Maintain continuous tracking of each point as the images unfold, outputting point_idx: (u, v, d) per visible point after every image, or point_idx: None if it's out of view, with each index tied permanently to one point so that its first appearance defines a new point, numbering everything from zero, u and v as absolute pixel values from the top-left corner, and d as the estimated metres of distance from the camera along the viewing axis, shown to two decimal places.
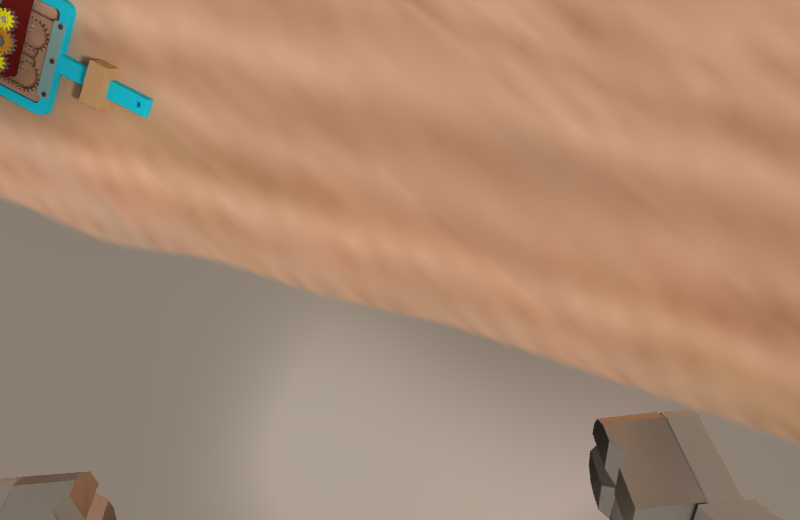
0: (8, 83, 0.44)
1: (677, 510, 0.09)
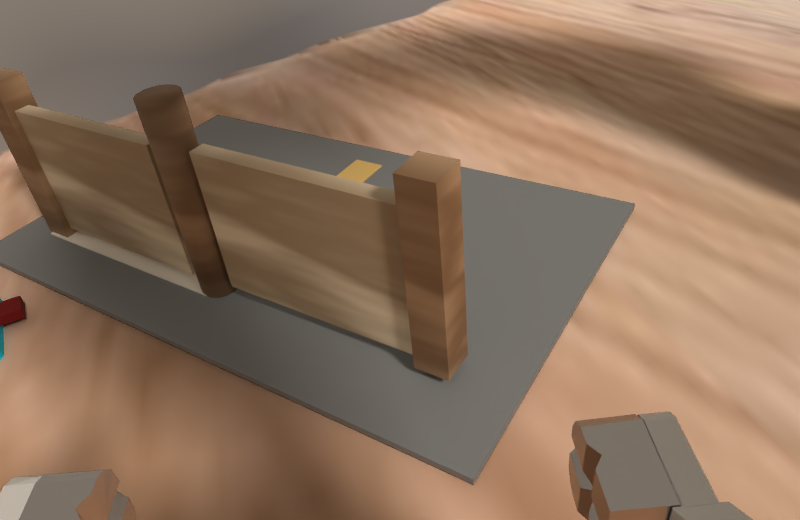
0: None
1: (652, 512, 0.09)
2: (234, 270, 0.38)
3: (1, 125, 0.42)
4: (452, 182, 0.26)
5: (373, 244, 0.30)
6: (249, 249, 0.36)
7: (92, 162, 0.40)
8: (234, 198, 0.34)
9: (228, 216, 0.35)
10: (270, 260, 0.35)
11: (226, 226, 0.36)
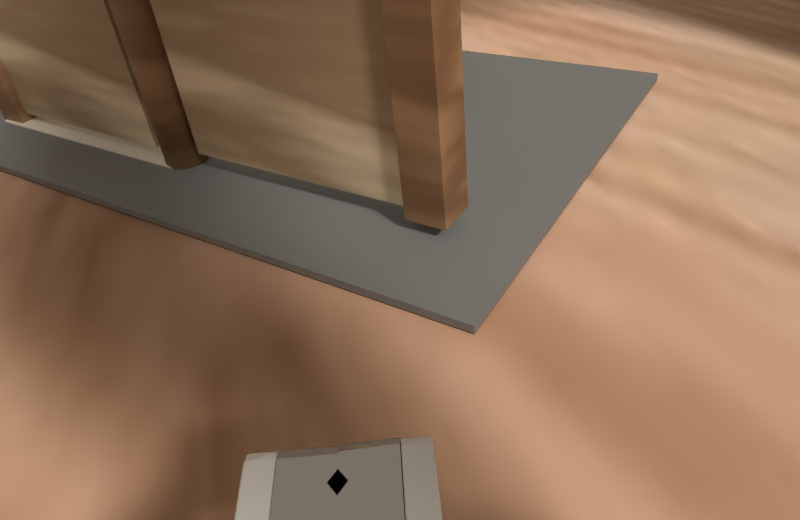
0: None
1: None
2: (200, 130, 0.33)
3: None
4: None
5: (354, 55, 0.25)
6: (214, 96, 0.31)
7: (40, 15, 0.35)
8: (194, 27, 0.29)
9: (189, 55, 0.30)
10: (238, 107, 0.30)
11: (187, 70, 0.31)
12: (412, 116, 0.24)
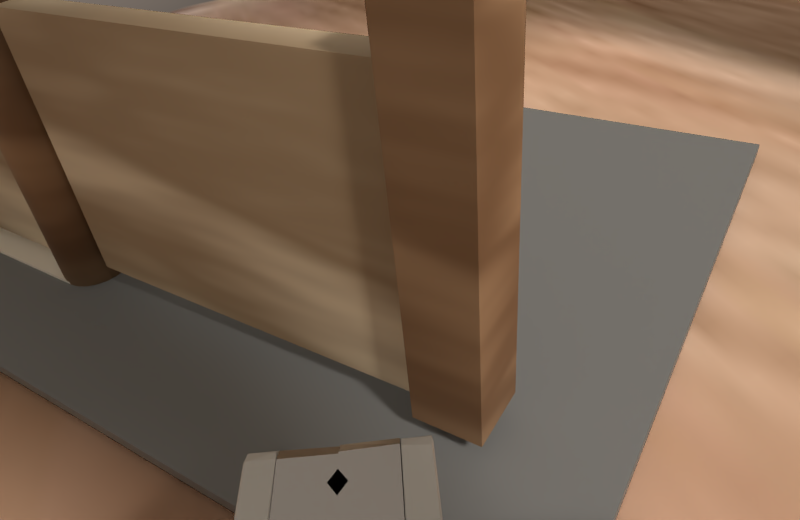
0: None
1: None
2: (104, 238, 0.22)
3: None
4: None
5: (327, 165, 0.14)
6: (117, 196, 0.20)
7: None
8: (76, 94, 0.18)
9: (75, 134, 0.19)
10: (153, 215, 0.19)
11: (76, 155, 0.20)
12: (430, 277, 0.14)
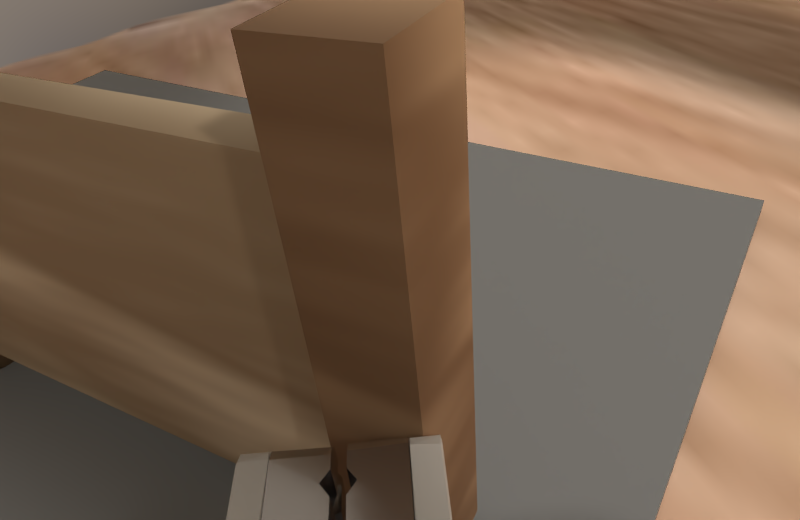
0: None
1: None
2: None
3: None
4: (440, 63, 0.08)
5: (228, 272, 0.11)
6: None
7: None
8: None
9: None
10: (38, 307, 0.16)
11: None
12: (362, 414, 0.11)
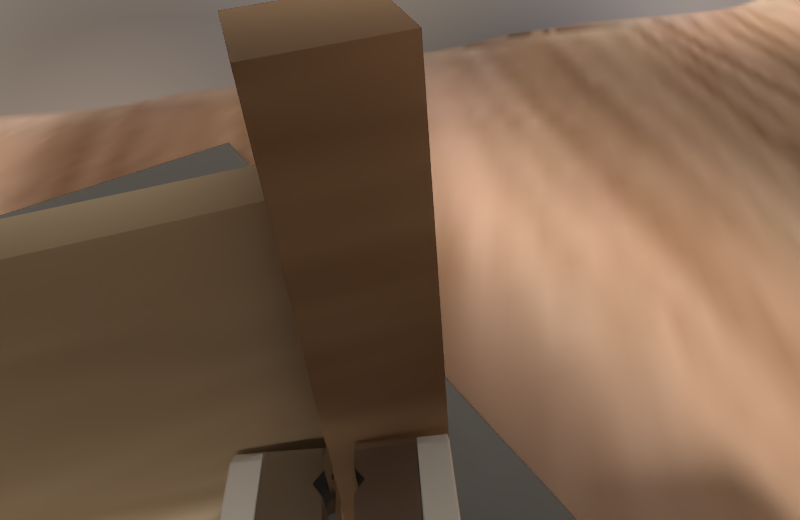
0: None
1: None
2: None
3: None
4: None
5: (172, 382, 0.09)
6: None
7: None
8: None
9: None
10: None
11: None
12: (380, 436, 0.10)
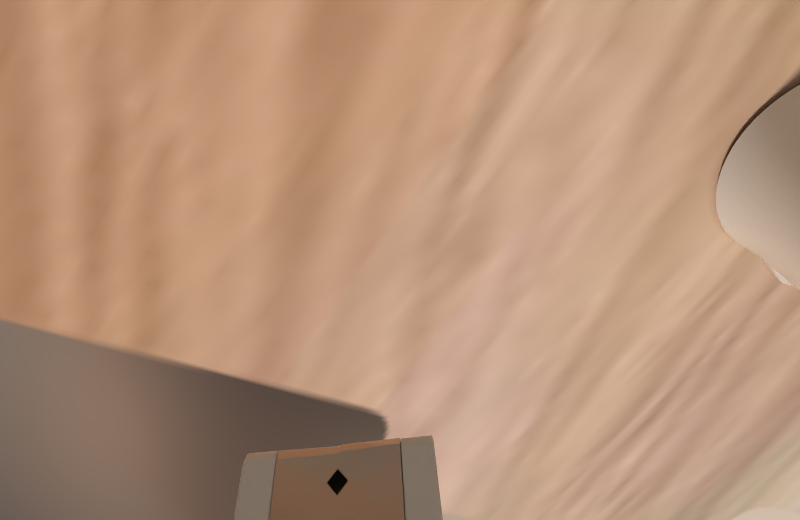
0: None
1: None
2: None
3: None
4: None
5: None
6: None
7: None
8: None
9: None
10: None
11: None
12: None
